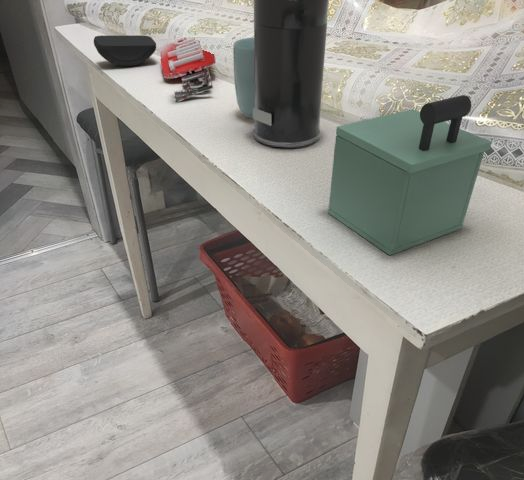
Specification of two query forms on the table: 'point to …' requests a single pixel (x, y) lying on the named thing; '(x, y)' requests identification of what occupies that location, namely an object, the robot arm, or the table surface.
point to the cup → (244, 75)
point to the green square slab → (418, 135)
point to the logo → (187, 65)
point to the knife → (202, 78)
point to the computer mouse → (125, 49)
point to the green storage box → (399, 197)
